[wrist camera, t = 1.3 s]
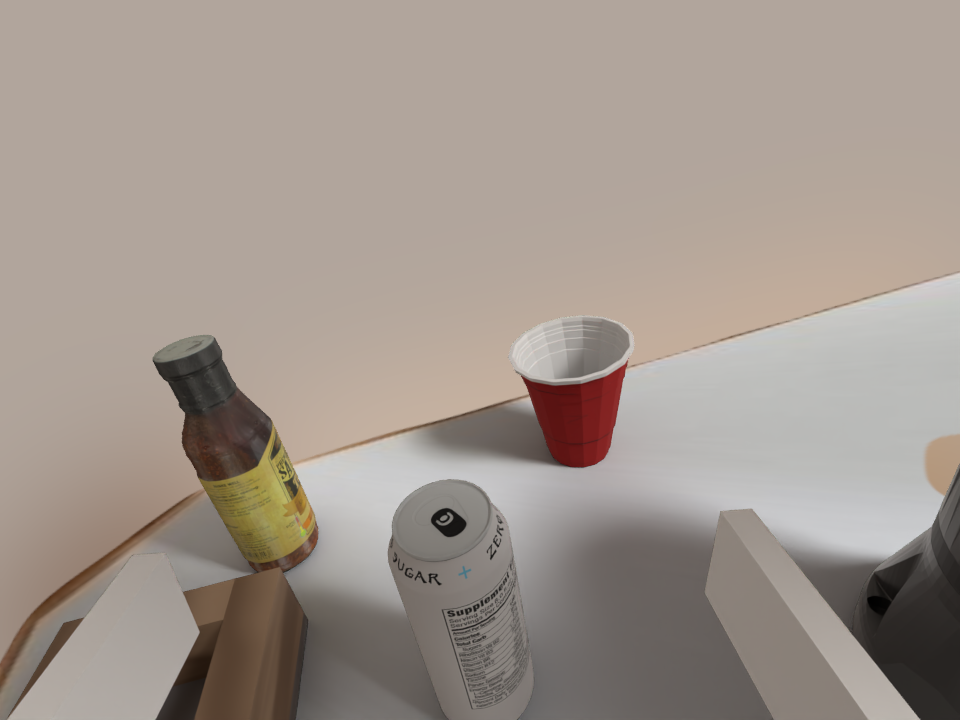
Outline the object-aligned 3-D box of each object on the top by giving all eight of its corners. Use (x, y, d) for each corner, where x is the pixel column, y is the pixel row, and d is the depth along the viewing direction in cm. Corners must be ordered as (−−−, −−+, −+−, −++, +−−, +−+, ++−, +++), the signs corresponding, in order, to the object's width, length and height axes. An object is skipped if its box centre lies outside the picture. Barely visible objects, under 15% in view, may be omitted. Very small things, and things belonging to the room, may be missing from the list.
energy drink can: (491, 620, 34) (453, 455, 27) (556, 686, 30) (531, 511, 23) (420, 686, 31) (356, 519, 24) (482, 769, 27) (426, 597, 20)
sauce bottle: (333, 546, 42) (245, 342, 33) (261, 593, 39) (140, 383, 29) (305, 507, 47) (221, 319, 37) (239, 546, 44) (128, 352, 34)
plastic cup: (504, 438, 51) (487, 336, 46) (592, 404, 54) (588, 304, 48) (556, 506, 42) (544, 390, 37) (659, 461, 45) (663, 346, 39)
